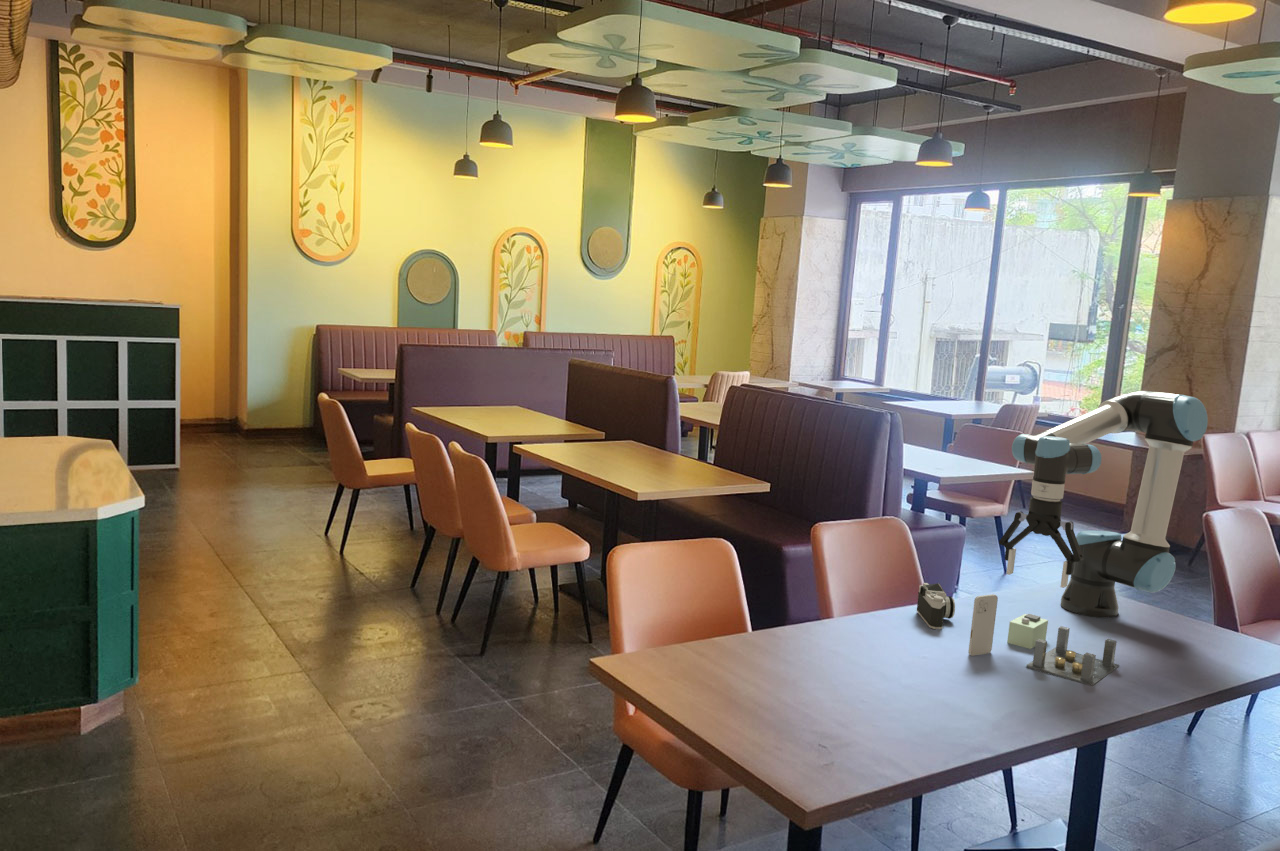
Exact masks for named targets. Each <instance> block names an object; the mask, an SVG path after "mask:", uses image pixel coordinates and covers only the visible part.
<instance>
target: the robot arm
mask: <svg viewBox="0 0 1280 851" xmlns="http://www.w3.org/2000/svg"><path fill="white" fill-rule="evenodd" d="M1208 417H1209V416H1208V413H1207V408H1206V407H1205V405H1204V403H1203V402H1202V401H1201V400H1200V399H1198V398H1197V397H1195V396H1189V395H1185V394H1180V393H1178V394H1175V393H1169V392H1159V391H1152V390H1137V391H1132V392H1131V391H1129V392H1127V393H1124V394H1120V395H1117V396H1115V397H1111V398H1109V399H1107V400H1104V401H1102V402H1101V403H1099V405H1098V406H1097V408H1095V409H1093V410H1091V411H1088V412H1086V413H1084V414H1082V415H1080V416H1077V417H1075V418H1073V419H1070V420H1068V421H1065V422H1063V423H1060V424H1059V425H1056V426H1054V427H1052V428H1050V429H1047V430H1045V431H1043V432H1039V433H1038V434H1035V435H1032V434H1026V433H1021V434H1018V436H1016V437H1015V438H1014V439H1013V442H1012V443H1011V444H1012V445H1011V454H1012V456H1013V458H1014V459H1015V460H1016V461H1018V462H1022V463H1024V464H1027V465H1029V464H1030V465H1032V466H1033V467H1034V470H1033V476H1032V483H1031V491H1030V494H1031V497H1030V498H1029V505H1028V513H1024V512H1023V511H1022V510H1021V511H1018V512H1016V513H1015V514H1014V517H1013V521H1012V522H1011V524H1010V525H1009V526H1008V528H1007V529H1006V530H1005V532H1004V533H1003V535H1002V537H1001V538H1000V539H999V540H998V543H999V545H1000V546H1003V547H1004V548H1005V552H1004V560H1005V561H1007V564H1006V565H1007V566H1006V573H1005V574H1006V575H1009V576H1010V575H1012V574H1014V572H1015V570H1014V569H1015V561H1016V553H1017V548H1015V546H1016V545H1017V544H1018V543H1020V542H1021V541H1022V540H1023V539H1024V538H1026V537H1027V536H1028V535H1030V533H1032V532H1033V533H1034V534H1036V535H1041V536H1045V537H1048V536H1049V537H1050V538H1051V539H1052V540H1053V541H1054V542H1055V544H1056V546H1057V547H1058V549H1059V550H1060V552H1061V553H1062V555H1063V556H1064V559H1065V560H1064V561H1063V563H1062V572H1061V579H1060V580H1061V581H1060V586H1059V587H1060V588H1065V589H1064V592H1063V594H1062V595H1061V599H1060V606H1061V607H1062V608H1063V609H1065V610H1067V611H1069V612H1071V613H1074V614H1078V615H1083V616H1085V617H1092V618H1114V617H1116V616H1118V614H1119V603H1118V598H1117V594H1116V589H1115V585H1116V583H1117V584H1121V585H1124V586H1128V587H1131V588H1133V589H1136V590H1137V591H1144V592H1147V593H1158V592H1159V591H1162V590H1163V589H1165V588H1166V586H1168V585H1169V584H1170V582H1171V580H1172V579H1173V577H1174V575H1175V571H1176V565H1177V564H1176V557H1174V555H1172V554H1171V553H1170V548H1171V545H1170V544H1169V542H1168V541H1167V539H1166V537H1167V532H1168V527H1169V523H1170V520H1171V514H1172V509H1173V506H1174V500H1175V497H1176V496H1175V495H1176V491H1177V488H1178V482H1179V478H1180V473H1181V469H1182V464H1183V461H1184V456H1185V453H1186V452H1187V451H1189V450H1191V449H1192V448H1193V444H1194V442H1197V441H1200V440H1201V439H1202V438H1203V437H1204V435H1205V434H1206V432H1207V429H1208V422H1209V421H1208V420H1209V419H1208ZM1125 431H1127V432H1128V431H1133V432H1140V433H1145V435H1144V441H1145V442H1146V443H1147V444H1148V450H1147V451H1148V452H1147V455H1146V460H1145V464H1144V468H1143V473H1142V478H1141V483H1140V487H1139V492H1138V496H1137V501H1136V506H1135V510H1134V514H1133V518H1132V523H1131V528H1130V531H1129V532H1126V533H1125V534H1124V535H1123V536H1122V534H1121V533H1119V532H1116V531H1108V530H1107V531H1106V530H1083V531H1079V532H1078V533H1077V534H1075V531H1074V522H1073V521H1072V520H1071V521H1062V519H1061V518H1062V517H1061V515H1062V511H1063V510H1062V509H1063V502H1062V500H1063V499H1064V493H1065V483H1066V477H1067V476H1066V475H1087V474H1092V473H1094V472H1096V471H1097V470H1098V469H1099V468H1100V466H1101V464H1102V453H1101V452H1100V450H1099V449H1098V448H1097V446H1095V445H1093V444H1089V443H1090V442H1092V441H1095V440H1098V439H1100V438H1102V437H1104V436H1106V435H1109V434H1120V433H1122V432H1125ZM1024 521H1026V522H1027V524H1028V526H1026V527H1025V528H1024V529H1023V530H1022V531H1021V532H1020V533H1018V534H1017V535H1015V537H1014V538H1013V539H1010V538H1011V537H1012V536H1013V534H1014V533H1015V531H1016V530H1017V529H1018V527H1019V526H1020V525H1021V523H1022V522H1024ZM1060 528H1062V529H1063V531H1064V532H1065V535H1066V538H1067V541H1068V543H1069V545H1068V544H1067V542H1065V540H1064V538H1063V537H1062V534H1061V533H1060V530H1059V529H1060ZM1009 540H1010V541H1009ZM1069 546H1070V548H1069ZM1069 576H1070V579H1069ZM1068 581H1069V582H1068Z"/></svg>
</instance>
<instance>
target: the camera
mask: <svg viewBox="0 0 1280 851" xmlns="http://www.w3.org/2000/svg"><path fill="white" fill-rule="evenodd" d="M918 588H919V589H918V592H917V594H918V595H917V596H918V597H917V604H916V612H917V613H918V615H919V616H920V617H921V619H922V620H923V621H924V623H926V625H927V626H928V627H929V628H930V629H934V630H942V629H943V628H944V619H948V620H950V619H952V618H954V616H955V612H956V602H955V599H954V598H953V596H947V593H946V592H945V590H944V589H943V587H942V585H941V584H940V583H937V582H936V583H930V584H929V583H928V582H923V583H922V584H920V585H919V587H918Z"/></svg>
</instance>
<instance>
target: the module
mask: <svg viewBox="0 0 1280 851" xmlns="http://www.w3.org/2000/svg"><path fill="white" fill-rule="evenodd" d="M1048 624H1049V620H1048V619H1045V618H1041V616H1040V615H1035V614H1032V613H1027V614H1026V613H1024V614H1022V615H1020V616H1018V617H1016V618H1014V619H1012V620H1010V621H1009V625H1008V634H1007V642H1006V643H1007V644H1010V645H1014V646H1017V647H1018V646H1019V647H1021V648H1024V649H1025V648H1026V649H1030V650H1031V649H1033V648H1035V642H1036V640H1038V639H1041V640H1044V641H1047V640H1046V639H1047V632H1048V631H1047V630H1048Z"/></svg>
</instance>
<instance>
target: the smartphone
mask: <svg viewBox="0 0 1280 851" xmlns="http://www.w3.org/2000/svg"><path fill="white" fill-rule="evenodd" d="M998 599H999V598H998V595H996V594H994V593H993V594H991V593H990V594H985V595H983V594H982V595H977V596H976V597H975V598H974V601H973V608H972V609H973V611H972V617H971V618H972V620H971V628H970V637H969V643H968V655H969V656H972V657H974V656H978V655H979V656H980V655H986V654H990V653H991V652H992V649H993V643H994V642H993V640H994V633H995V625H996V617H997V616H996V615H997V608H998V601H999V600H998Z"/></svg>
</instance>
